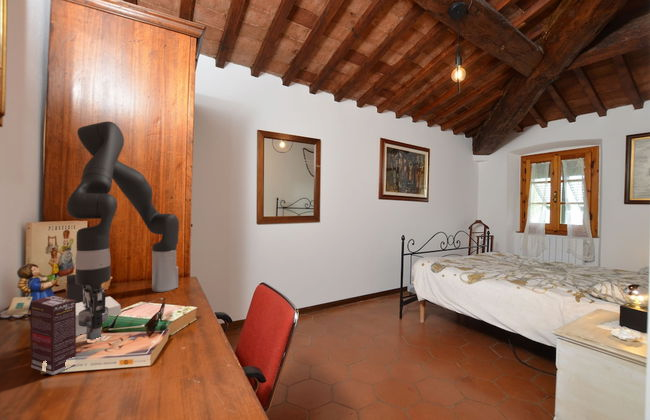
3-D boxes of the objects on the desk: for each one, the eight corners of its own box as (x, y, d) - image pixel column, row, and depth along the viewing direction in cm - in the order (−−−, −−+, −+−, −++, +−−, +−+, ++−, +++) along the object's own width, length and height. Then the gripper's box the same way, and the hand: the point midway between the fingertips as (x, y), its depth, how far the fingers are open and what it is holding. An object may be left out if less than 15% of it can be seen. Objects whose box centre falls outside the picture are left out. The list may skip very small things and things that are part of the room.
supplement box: (77, 364, 67) (77, 299, 67) (52, 376, 63) (51, 306, 62) (55, 357, 70) (54, 294, 70) (29, 367, 66) (28, 301, 65)
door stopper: (90, 308, 101) (90, 275, 100) (67, 313, 96) (67, 278, 96) (87, 301, 107) (87, 270, 107) (66, 305, 103) (66, 273, 102)
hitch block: (110, 313, 97) (110, 296, 97) (120, 323, 89) (120, 305, 89) (63, 324, 88) (62, 305, 87) (70, 337, 80) (70, 316, 80)
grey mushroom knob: (105, 332, 83) (105, 304, 83) (111, 340, 79) (111, 310, 79) (76, 340, 78) (76, 310, 78) (81, 349, 74) (81, 317, 74)
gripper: (117, 267, 76) (117, 327, 77) (103, 259, 85) (103, 313, 86) (81, 272, 70) (81, 337, 71) (70, 263, 80) (71, 321, 80)
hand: (93, 324), depth 78 cm, fingers closed on grey mushroom knob, 6 cm apart
